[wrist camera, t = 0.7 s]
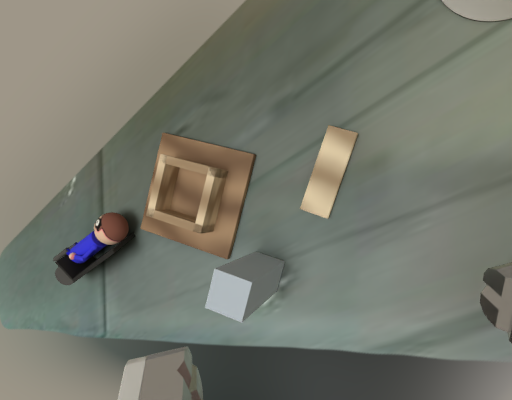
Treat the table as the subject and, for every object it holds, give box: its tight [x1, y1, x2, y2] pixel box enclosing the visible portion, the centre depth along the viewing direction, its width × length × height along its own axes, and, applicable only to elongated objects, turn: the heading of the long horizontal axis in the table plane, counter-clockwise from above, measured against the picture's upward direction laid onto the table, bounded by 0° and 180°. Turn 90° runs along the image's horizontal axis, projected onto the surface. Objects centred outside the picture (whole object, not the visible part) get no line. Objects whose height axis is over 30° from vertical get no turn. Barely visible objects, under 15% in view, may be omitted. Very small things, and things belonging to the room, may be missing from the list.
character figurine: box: [53, 213, 135, 285], centre depth 56 cm, size 8×7×15 cm
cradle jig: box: [141, 133, 256, 259], centre depth 52 cm, size 16×16×5 cm
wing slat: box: [300, 125, 358, 219], centre depth 47 cm, size 12×4×2 cm, turn 162°
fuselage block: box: [205, 252, 285, 323], centre depth 44 cm, size 4×4×14 cm
